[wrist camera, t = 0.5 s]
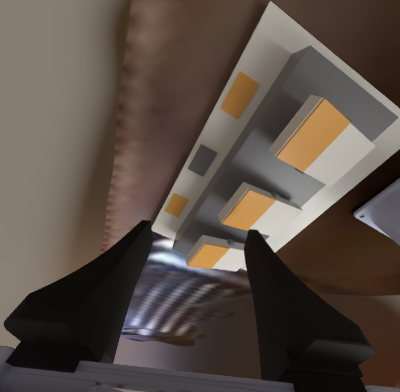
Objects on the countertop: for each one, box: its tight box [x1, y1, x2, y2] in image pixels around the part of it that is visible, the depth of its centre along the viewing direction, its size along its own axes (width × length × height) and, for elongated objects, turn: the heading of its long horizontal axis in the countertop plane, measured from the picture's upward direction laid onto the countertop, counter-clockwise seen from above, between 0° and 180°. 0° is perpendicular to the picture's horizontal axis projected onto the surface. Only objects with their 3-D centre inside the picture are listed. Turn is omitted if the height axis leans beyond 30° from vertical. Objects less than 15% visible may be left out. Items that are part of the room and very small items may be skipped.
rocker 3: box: [268, 95, 376, 187], centre depth 13 cm, size 7×4×1 cm, turn 62°
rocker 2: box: [218, 182, 303, 237], centre depth 16 cm, size 7×4×1 cm, turn 62°
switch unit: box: [152, 1, 400, 272], centre depth 20 cm, size 18×26×4 cm
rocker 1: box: [186, 235, 245, 271], centre depth 19 cm, size 7×4×1 cm, turn 62°
